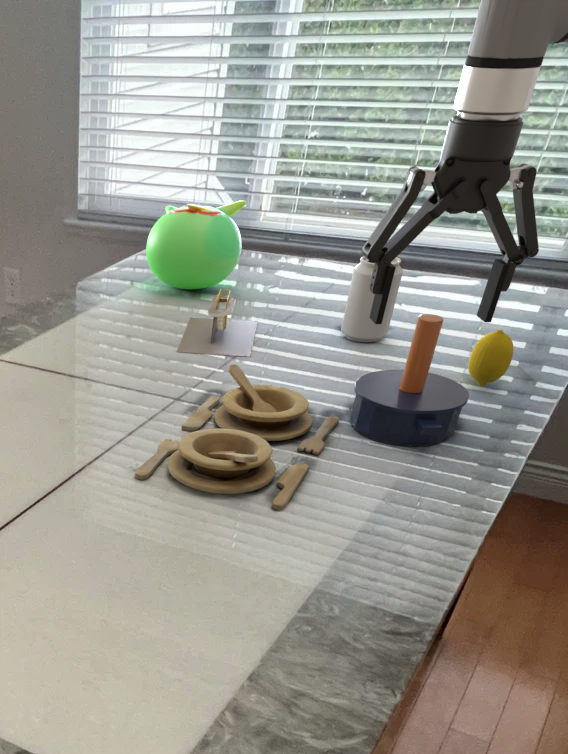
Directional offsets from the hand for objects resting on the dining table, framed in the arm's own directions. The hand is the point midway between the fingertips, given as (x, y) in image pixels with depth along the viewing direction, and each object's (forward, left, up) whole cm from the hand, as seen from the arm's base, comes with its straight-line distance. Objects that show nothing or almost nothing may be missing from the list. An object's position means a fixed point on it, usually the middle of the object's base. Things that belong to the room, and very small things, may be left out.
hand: (429, 320), depth 106 cm
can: (-5, -36, -14) cm, 39 cm away
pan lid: (0, 0, -9) cm, 9 cm away
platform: (+19, -38, -14) cm, 45 cm away
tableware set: (+23, +6, -14) cm, 27 cm away
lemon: (-16, -13, -14) cm, 25 cm away
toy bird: (+20, -67, -14) cm, 71 cm away
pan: (0, 0, -14) cm, 14 cm away
